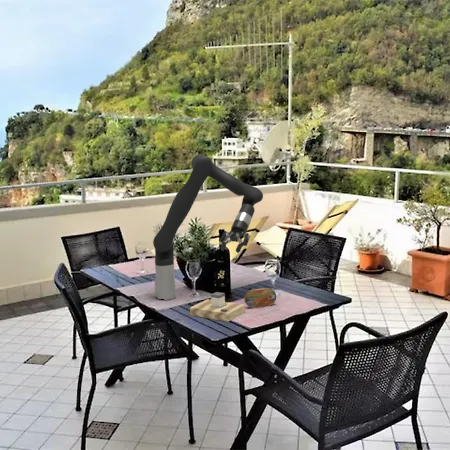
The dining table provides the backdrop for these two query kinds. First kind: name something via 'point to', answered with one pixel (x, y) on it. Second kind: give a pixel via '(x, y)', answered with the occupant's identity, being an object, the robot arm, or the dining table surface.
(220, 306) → the plug
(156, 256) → the robot arm
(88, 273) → the dining table surface
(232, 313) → the socket board
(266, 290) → the tin
